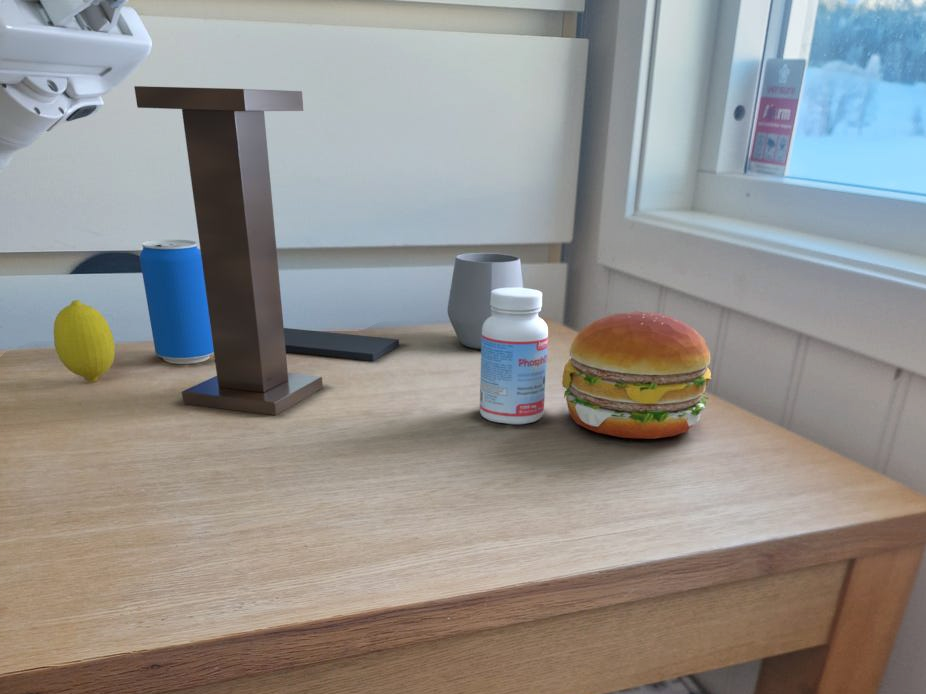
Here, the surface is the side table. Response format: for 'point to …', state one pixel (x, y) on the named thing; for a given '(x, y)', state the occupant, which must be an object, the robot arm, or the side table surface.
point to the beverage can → (177, 300)
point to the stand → (237, 244)
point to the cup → (478, 291)
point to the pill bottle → (513, 357)
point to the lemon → (84, 340)
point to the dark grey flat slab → (337, 344)
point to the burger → (637, 376)
